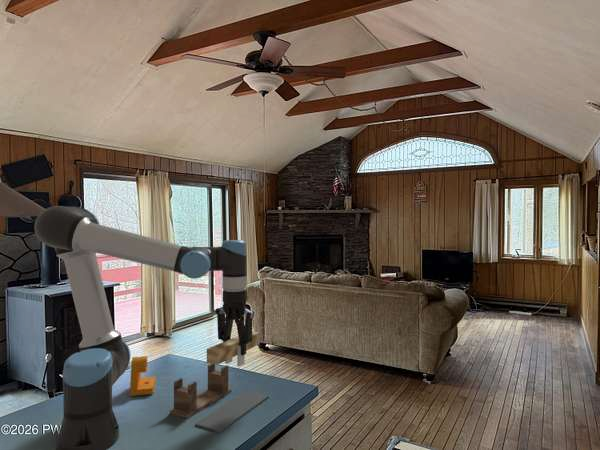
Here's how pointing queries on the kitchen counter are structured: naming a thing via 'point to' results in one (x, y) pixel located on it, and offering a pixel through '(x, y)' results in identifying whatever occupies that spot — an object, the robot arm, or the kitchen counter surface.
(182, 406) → the bracket
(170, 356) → the kitchen counter surface
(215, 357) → the rail
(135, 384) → the orange hinge mount
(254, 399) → the mat
